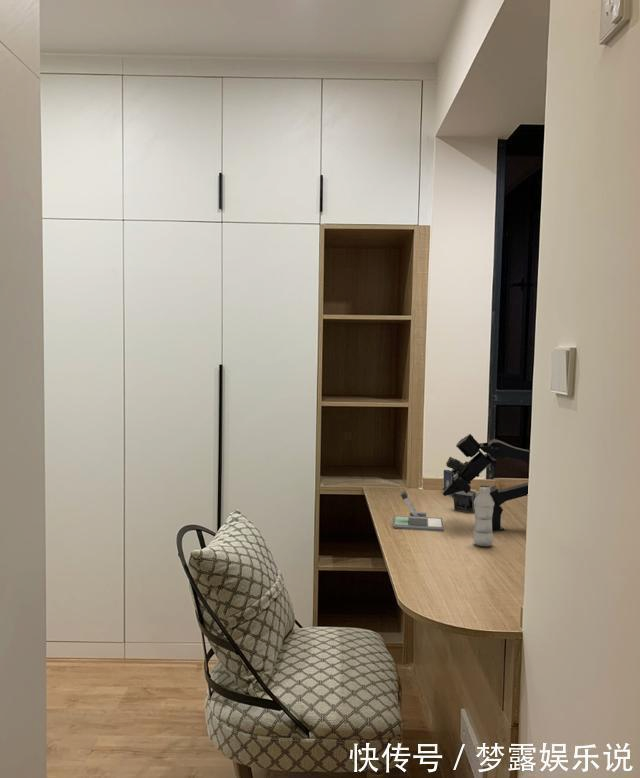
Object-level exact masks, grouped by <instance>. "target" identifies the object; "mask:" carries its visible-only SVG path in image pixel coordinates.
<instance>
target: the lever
mask: <svg viewBox="0 0 640 778" xmlns="http://www.w3.org/2000/svg"><path fill="white" fill-rule="evenodd" d="M400 496H401V498H402V500H404V502H405V503H406V504H407V507H408V508H409V510H410V511H411V512H412V514H413V515H414V516H415V517H420V516H419V515H418V513H417V512H418V511H417V510H416V508H415V506H414V504H413V502H412V501H411V499H410V498H409V494H408V492H407V491H406V490H404V491H401V492H400Z"/></svg>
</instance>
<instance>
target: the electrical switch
mask: <svg viewBox="0 0 640 778" xmlns="http://www.w3.org/2000/svg"><path fill="white" fill-rule="evenodd" d="M477 495H478V491H477V490H476V489H472V488H471V489H470V491H469V492H468V493H467V494H466V493H465V492H464V491H460V492H456V493H453V497H452V498H453V505H454V507H453V508H454V511H459V510H460V511H459V512H464V511H466V513H470V512H471V514H474V513H475V508H474V500H475V498H476V496H477ZM465 509H466V510H465Z"/></svg>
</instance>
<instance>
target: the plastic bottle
mask: <svg viewBox="0 0 640 778" xmlns="http://www.w3.org/2000/svg"><path fill="white" fill-rule="evenodd" d="M491 487H492V486H490V485H486V484H482V485H481V484H480V485H478V491H477V492H478V493H477V496H476V498H475V500H474V508H475V511H474V517H475V520H474V530H473V534H472V540H473V541H472V542H473V543H474V544H475V545H476V546H479V547H491V546H492V544H493V543H494V532H493V531H492V514H493V508H494V500H493V498H492V496H491V495H490V492H491V490H490V488H491Z"/></svg>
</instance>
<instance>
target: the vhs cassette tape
mask: <svg viewBox="0 0 640 778" xmlns="http://www.w3.org/2000/svg"><path fill="white" fill-rule="evenodd" d="M451 475H453V476H454V475H455V474H454V473H452V471H451V469H450V470H449V469H444V470H443V476H444V477H443V478H442V479H444V488H443V487H442V491H443V490H444V491H445V489H446V488H447V486H448V485H449V484H450V482H451ZM450 495H451V496H452V498H453V494H450ZM450 495H449V496H450ZM451 496H450V497H451Z"/></svg>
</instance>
